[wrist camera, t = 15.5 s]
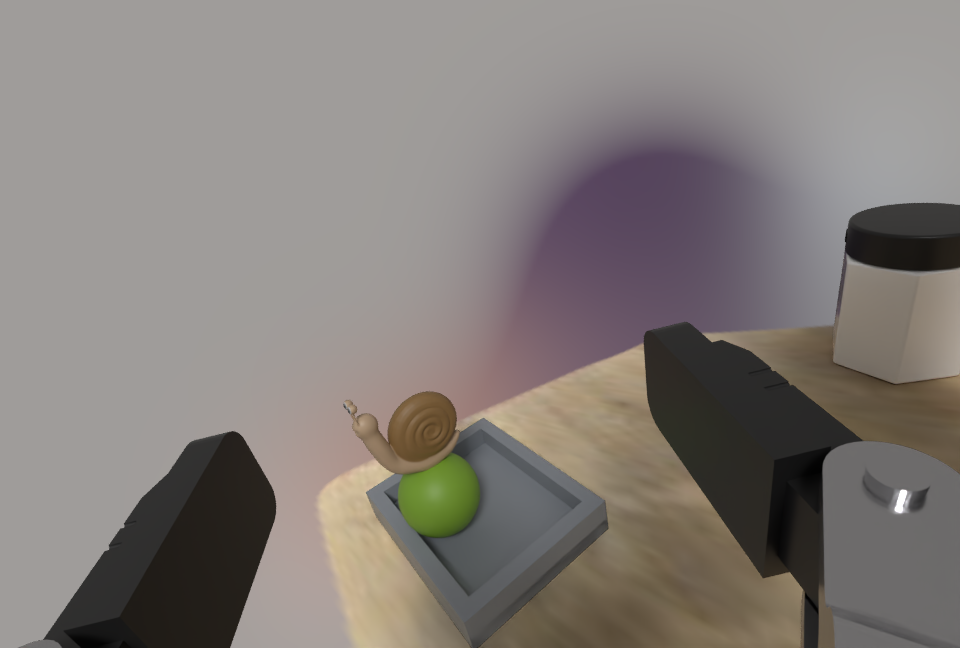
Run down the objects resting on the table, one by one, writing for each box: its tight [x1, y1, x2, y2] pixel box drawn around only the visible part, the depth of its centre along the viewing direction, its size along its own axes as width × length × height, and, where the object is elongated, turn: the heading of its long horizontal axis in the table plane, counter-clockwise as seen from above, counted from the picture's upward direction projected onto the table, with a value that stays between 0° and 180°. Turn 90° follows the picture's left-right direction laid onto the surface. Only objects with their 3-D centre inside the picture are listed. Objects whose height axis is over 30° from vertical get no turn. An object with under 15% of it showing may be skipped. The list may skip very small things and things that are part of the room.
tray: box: [366, 418, 608, 648], centre depth 33 cm, size 11×13×2 cm
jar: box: [833, 203, 960, 384], centre depth 38 cm, size 9×8×12 cm
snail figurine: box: [343, 392, 480, 538], centre depth 30 cm, size 5×6×12 cm
